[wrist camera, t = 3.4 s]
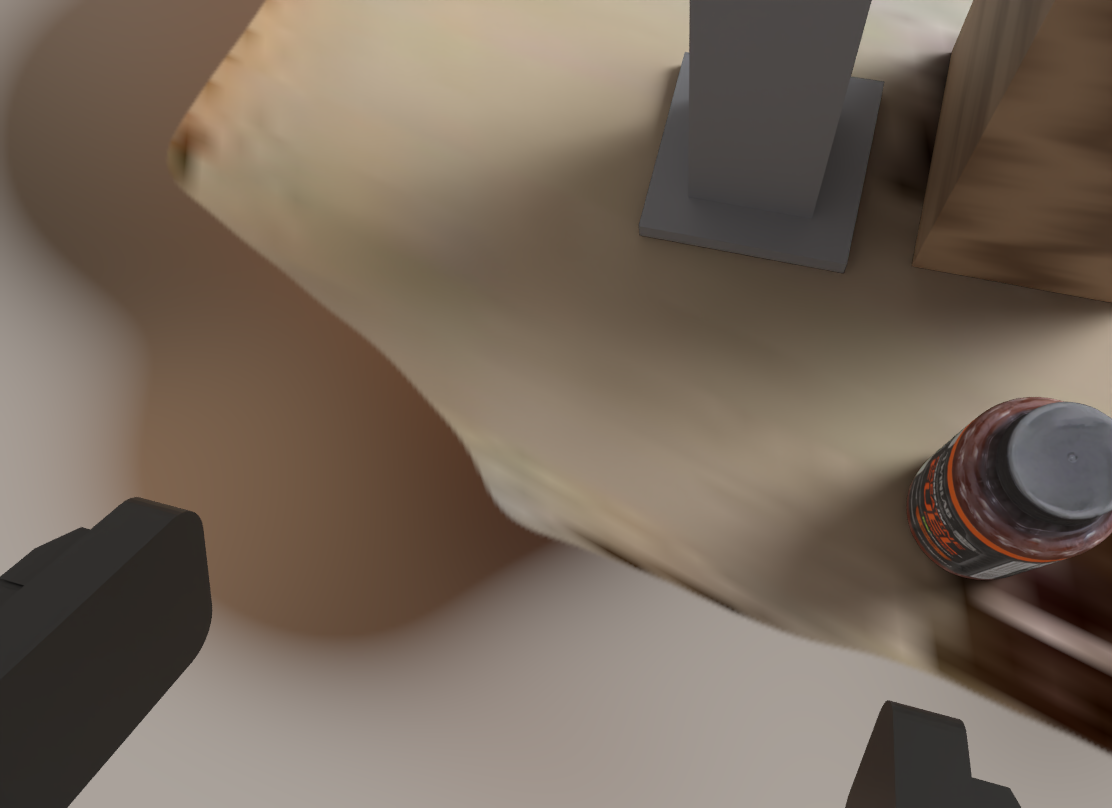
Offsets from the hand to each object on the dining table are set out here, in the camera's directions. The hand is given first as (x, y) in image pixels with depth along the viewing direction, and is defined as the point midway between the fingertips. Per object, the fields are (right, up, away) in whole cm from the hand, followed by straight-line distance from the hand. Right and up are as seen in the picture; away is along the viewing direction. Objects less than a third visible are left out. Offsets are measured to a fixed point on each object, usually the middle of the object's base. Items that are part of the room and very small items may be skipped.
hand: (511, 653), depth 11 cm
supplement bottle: (+19, -2, +31) cm, 37 cm away
